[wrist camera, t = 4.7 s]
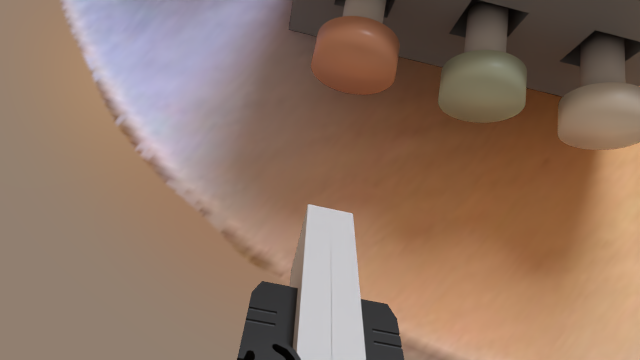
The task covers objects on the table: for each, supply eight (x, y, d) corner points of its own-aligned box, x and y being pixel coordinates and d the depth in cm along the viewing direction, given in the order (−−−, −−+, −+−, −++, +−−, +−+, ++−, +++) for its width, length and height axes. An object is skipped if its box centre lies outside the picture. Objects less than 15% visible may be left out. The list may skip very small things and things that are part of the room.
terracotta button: (395, 16, 29) (420, -36, 25) (382, 101, 27) (406, 59, 23) (324, -1, 29) (337, -57, 25) (306, 83, 27) (317, 38, 23)
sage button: (505, 44, 30) (546, -3, 26) (499, 129, 28) (543, 93, 24) (436, 27, 29) (467, -23, 25) (426, 112, 28) (458, 72, 23)
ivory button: (610, 71, 30) (667, 29, 26) (611, 155, 28) (673, 125, 24) (544, 54, 30) (592, 9, 26) (541, 139, 28) (592, 105, 24)
